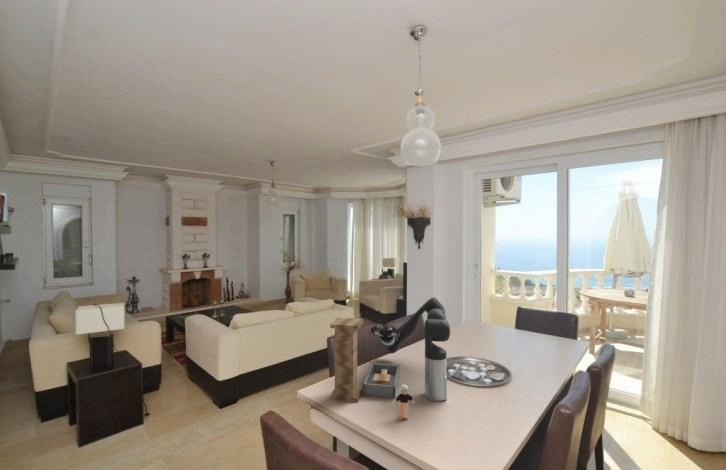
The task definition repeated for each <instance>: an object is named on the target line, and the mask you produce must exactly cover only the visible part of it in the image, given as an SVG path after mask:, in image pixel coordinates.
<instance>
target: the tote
mask: <svg viewBox="0 0 726 470" xmlns="http://www.w3.org/2000/svg"><path fill="white" fill-rule="evenodd" d="M382 369H387V374H388V375H390V385H381V384H373V379H374V376H375V374H381V372H382ZM400 377H401V365H400V364H399V365H398V364H387V363H386V364H384V363H375V362H373V363H371V365H370V368H369V370H368V372H367V375H365V379H364V381H363V384H362V386H363V387H362V395H363V396H364V397H365V396H366V397H376V398H386V399H387V398H388V399H396V398H397V397H396V396H397V391H398V387H399V382H400Z"/></svg>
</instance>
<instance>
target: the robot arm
mask: <svg viewBox="0 0 726 470" xmlns="http://www.w3.org/2000/svg"><path fill="white" fill-rule="evenodd" d="M425 312H426V314H427V315H426V320H425V321H424V324H423V325H424V328H423V329H424V330H423V332H424V397H425V398H426V399H427V400H430V401H435V402H441V401H447V399H448V395H447V394H448V391H447V390H448V389H447V388H448V381H447V380H448V377H447V351H446V349H445V348H444V347H441V346H439V345H436V344H435V343H434V342H440V343H441V342H447V341H448V340H449V339H450V337H451V328H450V327H451V326H450V323H449V322H448V320H447V317H446V316H447V315H446V309H445V307H444V305H443V304H442V303H441V302H440V301H439V300H438V299H437V297H431V298H429V299H428V300H427V301H426V302H424V304H422V305H421V306H420V308H419V309H417V310H416V312H414V314H412V316H411V317H410V318H409V319H408V320H407V321H406V322H405V323H403V324H402V325H401V326H400V327H398V328H396V327H395V326H392V327H388V326H384V327H382V328H381V327H378V326H377V325H373V326H372V327H370V334H371V335H373V336H375V335H378V336H379V339H380V341H381V343H382V344H383V346H384V348H386V350H387V351H388V353H389V354H395V353H397V352H398V350H399V349H400V347H401V346H402V345H403V343H404V342H405V341H406V340H407V339H408V338H409V337H411V336H412V335H413V334H414V333H415V332H416V330H417V328H418V326H419V322H420V320H421V317H422V316H423V314H424V313H425ZM396 336H397V340H396Z"/></svg>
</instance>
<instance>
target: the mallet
mask: <svg viewBox="0 0 726 470" xmlns="http://www.w3.org/2000/svg"><path fill="white" fill-rule="evenodd" d="M373 384H381V385H390V375H388V374H387V369H382V372H381V374H375V376H374V379H373Z"/></svg>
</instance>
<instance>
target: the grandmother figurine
mask: <svg viewBox="0 0 726 470" xmlns="http://www.w3.org/2000/svg"><path fill="white" fill-rule="evenodd" d="M399 389H400V393H399V394H398V395H397V397H395V400H394V402H393V404H394V405H397V403H398V402H399V403H398V414H397V415H398V416H397V420H399V421H401V420H403V419H404V420H410V417H409V406H410V405H409V401H410V403H411V404H415V401H414V398H413V397H412V395H410V394H409V393H408V392H409V391H410V388H409V387H408V385H406V384H401V385H400V386H399Z"/></svg>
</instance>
